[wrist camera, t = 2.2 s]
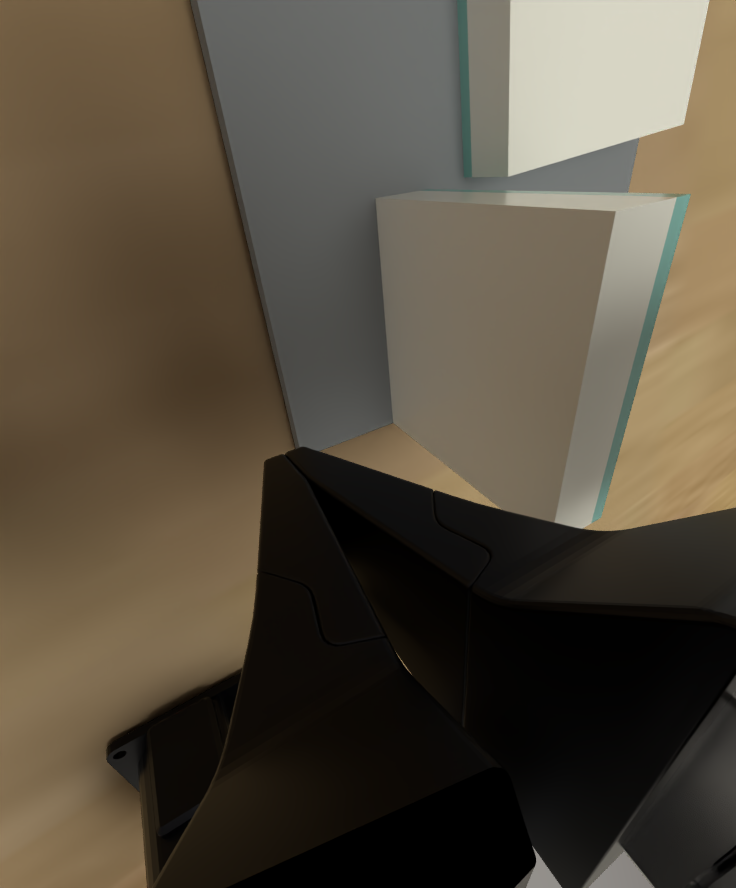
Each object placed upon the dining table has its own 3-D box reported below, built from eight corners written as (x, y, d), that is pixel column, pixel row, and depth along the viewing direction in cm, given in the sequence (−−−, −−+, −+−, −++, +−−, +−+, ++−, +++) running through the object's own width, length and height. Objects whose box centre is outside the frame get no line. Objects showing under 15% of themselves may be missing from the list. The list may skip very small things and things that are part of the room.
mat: (586, 341, 22) (596, 345, 22) (296, 450, 17) (301, 457, 16) (681, -158, 13) (702, -169, 13) (122, -285, 8) (124, -314, 7)
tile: (433, 407, 18) (601, 517, 12) (393, 423, 18) (550, 547, 12) (429, 189, 14) (690, 193, 8) (375, 198, 13) (615, 211, 7)
